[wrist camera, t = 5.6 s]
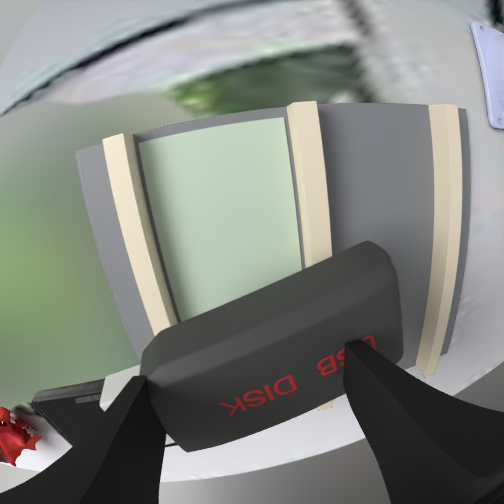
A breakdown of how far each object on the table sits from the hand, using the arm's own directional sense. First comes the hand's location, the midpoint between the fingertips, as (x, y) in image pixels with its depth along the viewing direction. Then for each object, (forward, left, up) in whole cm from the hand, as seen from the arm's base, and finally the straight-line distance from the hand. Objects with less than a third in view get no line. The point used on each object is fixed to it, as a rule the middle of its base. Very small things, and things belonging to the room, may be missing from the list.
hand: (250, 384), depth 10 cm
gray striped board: (-4, 0, -8) cm, 9 cm away
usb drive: (0, 0, -2) cm, 3 cm away
